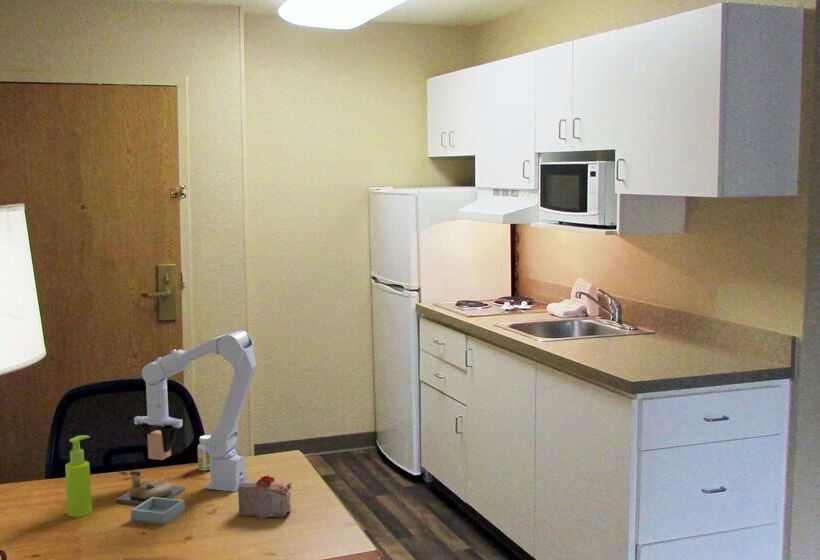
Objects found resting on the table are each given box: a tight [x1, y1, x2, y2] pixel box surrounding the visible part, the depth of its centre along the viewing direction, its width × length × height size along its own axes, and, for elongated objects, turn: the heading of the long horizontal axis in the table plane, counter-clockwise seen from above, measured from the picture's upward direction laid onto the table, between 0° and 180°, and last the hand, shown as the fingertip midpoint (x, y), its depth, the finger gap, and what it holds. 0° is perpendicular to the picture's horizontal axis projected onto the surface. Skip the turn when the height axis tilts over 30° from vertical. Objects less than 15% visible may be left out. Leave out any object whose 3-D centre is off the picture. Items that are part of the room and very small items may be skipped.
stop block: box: [147, 429, 172, 461], centre depth 254 cm, size 4×4×7 cm
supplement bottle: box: [197, 434, 212, 471], centre depth 266 cm, size 5×5×10 cm
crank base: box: [115, 485, 186, 506], centre depth 244 cm, size 13×13×1 cm
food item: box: [237, 475, 293, 519], centre depth 230 cm, size 14×8×10 cm, turn 82°
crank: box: [129, 470, 173, 499], centre depth 244 cm, size 12×11×5 cm
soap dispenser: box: [64, 434, 93, 518], centre depth 232 cm, size 6×7×20 cm
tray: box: [130, 497, 186, 526], centre depth 230 cm, size 10×10×3 cm
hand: (159, 450), depth 255 cm, fingers closed on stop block, 4 cm apart
